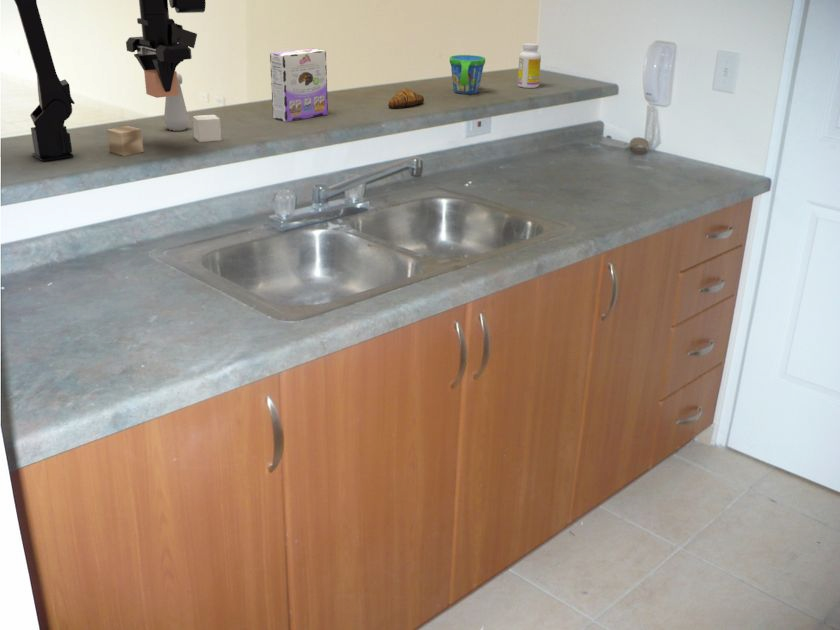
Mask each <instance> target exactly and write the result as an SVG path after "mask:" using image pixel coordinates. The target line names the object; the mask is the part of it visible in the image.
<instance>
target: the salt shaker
mask: <svg viewBox="0 0 840 630" xmlns="http://www.w3.org/2000/svg"><path fill="white" fill-rule="evenodd" d="M177 82H178V93H179V95H177V96H168V97H165V102H164V112H163V113H164V115H163V116H164V117H163V121H164V124H165V126H166V127H167V130H168V129H169V130H168V131H171V130H173V131H172V132H181V131H186V130H187V127H188V125H189V122H190V119H189V115H188V110H187V106H186V101H185V99H184V94H183V91H182V87H181V85H182V84H183V77H182V75H181V74H180V73H177ZM185 129H186V130H185Z"/></svg>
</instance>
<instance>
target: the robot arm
mask: <svg viewBox="0 0 840 630" xmlns="http://www.w3.org/2000/svg"><path fill="white" fill-rule="evenodd" d="M168 2H169V3H168ZM14 3H15V5H16V7H17V11H18V14H19V19H20V21H21V22H20V23H21V26H22V28H23V32H24V36H25V38H26V43H27V45H28V46H27V47H28V49H29V53H30V56H31V59H32V62H33V66H34V70H35V73H36V79H37V80H36V81H37V84H36V85H37V94H38V102H39V104H38V105H37V106H36V107H35V109H33V111H32V112H31V113H30V115H29V116H30V118H31V120H32V123H33V125H34V127H33V126H32V127H30V131H31V138H32V145H33V150H34V152H32V153H31V156H33V158H36V159H38V160H40V161H41V162H47V161H55V160H61V159H68V158H74V154H73V153H72V152H73V148H72V140H71V133H69V132H68V129H67V126H66V125H65V121H67V120H68V119H69V118H70V117H71V115H72V113H73V106H72V104H73V105H75V102H74V100H73V98H72V94H71V88H70V87H71V86H70V83H69V82H68V81H67V80H66V79H65V78H64V79H63V80H60V78H59V76H58V74H57V70H56V67H55V64H54V60H53V56H52V54H51V53H52V52H51V50H50V46H49V43H48V39H47V36H46V32H45V28H44V25H43V22H42V19H41V14H40V10H39V7H38V4H37V3H38V2H37V0H14ZM138 3H139V4H138V5H139V14H140V17H138V18H137V20H136V21H137V24H138V25H141V32H142V36H131V37H128V38H127V40H126V41H125V45H126V52H130V53H134V54H133V57H135V58H136V60H137V61H138V63H139V65H140V67H141V69H143V71H144V70H155V69H156V70H157V73H158V76H159V78H160V81H161V83H162V86H163V88H164V90H165V92H170V90H171V86H172V81H173V77H174V72H175V71H176V68H177V66H178V65H179V64H180V63H182V62H184V60H191V59H192V57H193V56H192V49H195V46H196V41H197V37H198V33H196V32H193V31H190V30H187V29H184V28H183V27H184V26H183V25H182V24H178V23H176V22H175V20H174V19H173V18H170V14H169V13H170V12H169V11H170V10H169V6H170V8H171V9H174V11H175V13H177V14H191V13H192V14H193V13H194V14H196V13H204V12H205V11H206V6H207V5H206V3H207V2H206V0H138ZM135 52H136V53H135Z"/></svg>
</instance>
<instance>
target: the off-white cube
mask: <svg viewBox="0 0 840 630" xmlns="http://www.w3.org/2000/svg"><path fill="white" fill-rule="evenodd" d="M192 124H193V125H192V126H193V136H194V139H196V140H197V141H198V142H199V143H203V142H204V143H205V142H206V143H207V142H214V141H215V142H218V141H222V131H221V130H222V129H221V118H220V117H218V116H217V115H215V114H204V115H202V114H201V115H193V116H192Z"/></svg>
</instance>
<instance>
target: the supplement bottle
mask: <svg viewBox="0 0 840 630" xmlns="http://www.w3.org/2000/svg"><path fill="white" fill-rule="evenodd" d="M522 48H523V51H522V52H520V53H519V56H518V71H517V72H518V74H517V85H518V88H524V89H535V88H538V87H539V85H540V76H541V75H540V74H541V73H540V72H541V61H542V60H541V57H542V55H541V53H540V52H539V51H538V49H539V44H538V43H530V42H529V43H528V42H524V43H523V44H522Z"/></svg>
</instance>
